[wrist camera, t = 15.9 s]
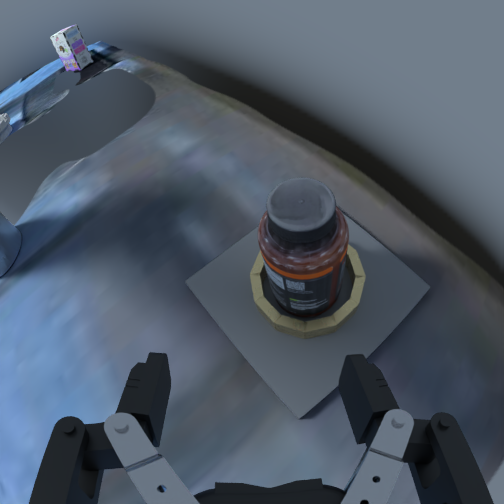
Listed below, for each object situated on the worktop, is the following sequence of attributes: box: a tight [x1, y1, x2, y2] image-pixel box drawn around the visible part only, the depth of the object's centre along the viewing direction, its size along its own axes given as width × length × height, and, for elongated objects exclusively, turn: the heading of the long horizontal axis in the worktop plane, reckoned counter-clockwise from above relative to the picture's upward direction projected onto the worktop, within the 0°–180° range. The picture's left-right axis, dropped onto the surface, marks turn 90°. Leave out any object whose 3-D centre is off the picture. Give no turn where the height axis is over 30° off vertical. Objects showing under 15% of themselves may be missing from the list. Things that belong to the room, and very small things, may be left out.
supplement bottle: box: [258, 178, 349, 317], centre depth 22 cm, size 6×6×11 cm
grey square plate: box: [185, 214, 430, 419], centre depth 27 cm, size 16×16×1 cm
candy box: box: [50, 24, 94, 71], centre depth 75 cm, size 14×6×16 cm, turn 54°
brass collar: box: [250, 244, 365, 339], centre depth 26 cm, size 9×9×2 cm
